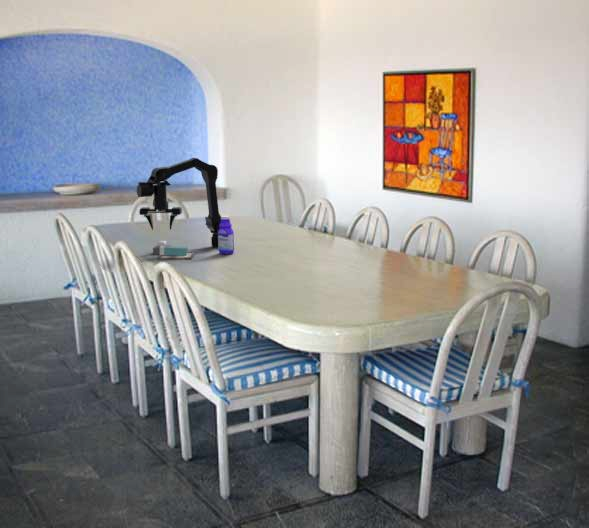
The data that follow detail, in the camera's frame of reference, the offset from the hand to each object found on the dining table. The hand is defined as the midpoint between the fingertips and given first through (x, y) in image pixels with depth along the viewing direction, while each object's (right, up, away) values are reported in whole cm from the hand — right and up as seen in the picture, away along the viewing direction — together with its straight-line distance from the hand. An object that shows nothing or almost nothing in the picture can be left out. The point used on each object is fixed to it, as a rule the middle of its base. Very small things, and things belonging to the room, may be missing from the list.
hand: (161, 229), depth 355 cm
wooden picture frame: (+8, -13, -7) cm, 17 cm away
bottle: (+30, -11, 0) cm, 32 cm away
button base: (0, -11, +3) cm, 11 cm away
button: (0, -8, +2) cm, 9 cm away
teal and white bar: (+8, -12, -8) cm, 16 cm away
